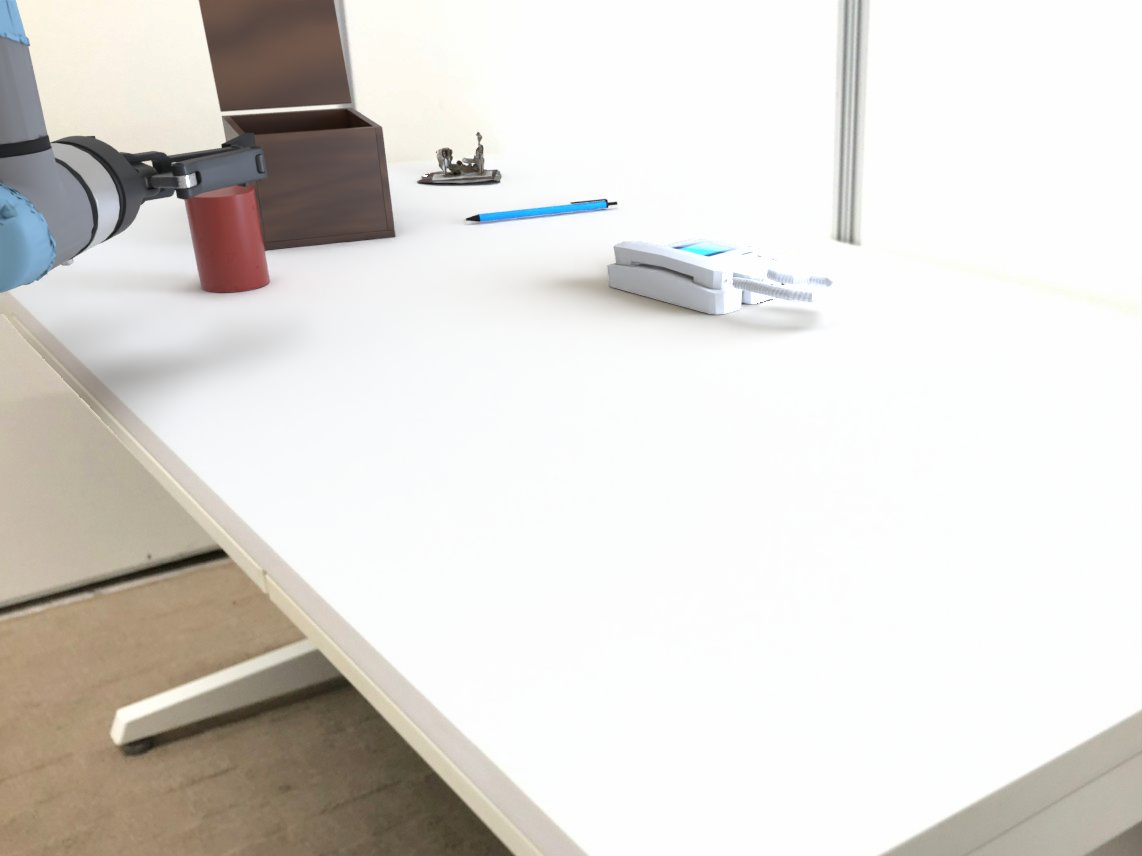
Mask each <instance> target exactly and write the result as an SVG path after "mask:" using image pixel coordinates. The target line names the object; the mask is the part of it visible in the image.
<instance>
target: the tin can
mask: <svg viewBox="0 0 1142 856" xmlns="http://www.w3.org/2000/svg"><path fill="white" fill-rule="evenodd" d="M184 205H185V206H184V207H185V211H186V216H187V222H188V227H189V232H190V237H191V243H192V246H193V247H192V249H193V252H194V257H195V264H196V267H197V273H198V279H199V285H200V288H201V289H202V290H204V291H206V292H210V293H211V292H212V293H240V292H247V291H251V290H252V291H253V290H255V289H259V288H262V287H265V286H267V285H268V284H269V283H270V282H271V281H270V280H271V279H270V274H269V268H268V267H269V266H268V261H267V255H266V250H265V249H264V243H263V237H262V231H261V225H260V219H259V213H258V207H257V201H256V195H255V189H254V187H252V186H249V187H242V186H238V185H235V186H230V187H226V188H222V189H218V190H213V191H209V192H205V193H201V194H199V195H197V196H194V197H191V198H189V199H186V200H184Z"/></svg>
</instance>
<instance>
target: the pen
mask: <svg viewBox="0 0 1142 856" xmlns="http://www.w3.org/2000/svg"><path fill="white" fill-rule="evenodd" d="M610 206H618V201H610V202H609V201H608V199H607V198H600V199H599V198H598V199H589V200H581V201H571V202H570V203H569V204H561V205H553V206H543V207H533V208H524V209H515V210H514V209H513V210H505V211H495V212H485V213H478V214H474V215H472V216H468V217H465V218H464V221H466V222H477V223H480V222H481V223H483V222H490V221H491V222H493V221H501V220H509V219H510V220H511V219H520V218H528V217H538V216H547V215H556V214H564V213H565V214H566V213H573V212H574V213H575V212H582V211H592V210H601V209H608V208H609V207H610Z"/></svg>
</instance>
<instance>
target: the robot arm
mask: <svg viewBox="0 0 1142 856" xmlns="http://www.w3.org/2000/svg"><path fill="white" fill-rule="evenodd" d="M25 31H26V30H25V28H24V24H23V21H22V18H21V14H20V10H19V6H18V3H17V0H0V294H3V293H6V292H9V291H11V290H13V289H16V288H19V287H21V286H29V285H31V284H33V283H34V282H35V281H37V282H39V281H40V280H42V278H43V277H45V276H47V275H48V273H49V272H51V271H53V270H54V269H55V268H57V267H59V266H63V267H64V266H66V267H68V266H71V265H73V263H74V259H75V258H76V257H77V256H80V255H82V254H84V253H85V252H86V251H89V250H90V249H92V248H94V247H97V246H98V245H100V244H102V243H104V242H107V241H109V240H111V239H112V238H114V237H116V236H117V235H120V234H122V233H124V231H126V230H127V229H128V228H130V226H131V225H132V224H133V222H134V221H135V220H136V218H137V216H138V213H139V211H140V209H141V207H142V205H144V204H145V203H146V202H147V201H155V200H161V199H166V198H171V197H173V196H174V194H176V199H179V200H182V201H183V200H186V199H189V198H191V197H194V196H197V195H199V194H201V193H205V192H209V191H213V190H218V189H222V188H226V187H230V186H235V185H238V186H242V187H249V182H252V181H256V180H263V179H266V178H267V173H266V167H265V161H264V155H263V149H262V147H261V146H257V145H256V142H255V137H254V133H244V134H242V135H240V136H238V137H236V138H233V139H231V140H229V141H227V142H226V141H225V142H223V143H221V144H220V146H221V147H217V148H209V149H204V150H197V151H190V152H184V153H176V154H170V155H168V154H167V153H166V152H163V151H158V150H150V151H143V152H142V151H141V152H135V153H132V152H131V153H130V152H125V151H119V150H117V149H116V148H114V147H113V146H112V145H110V144H109V143H107V142H104V141H103V140H101V139H99V138H96V135H85V136H84V135H71V136H65V137H62V138H59V139H56V140H52V141H51V140H50V136H49V133H48V129H47V125H46V121H45V117H44V116H45V115H44V111H43V108H42V102H41V98H40V93H39V88H38V84H37V79H36V73H35V70H34V66H33V61H32V56H31V51H30V47H31V43H30V38H29V37H28V36H27V35H26V32H25ZM145 162H151V165H150V164H147V163H145Z"/></svg>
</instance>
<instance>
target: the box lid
mask: <svg viewBox="0 0 1142 856" xmlns="http://www.w3.org/2000/svg"><path fill="white" fill-rule="evenodd" d="M198 5H199V8H200V9H199V10H200V16H201V20H202V25H203V31H204V35H205V41H206V45H207V50H208V55H209V60H210V65H211V70H212V74H213V76H212V77H213V81H214V87H215V90H216V91H215V92H216V96H217V100H218V106H219V111H220V113H226V112H227V113H229V112H245V111H257V110H258V111H261V110H274V109H275V110H276V109H290V108H291V109H292V108H306V107H320V106H321V107H323V106H337V105H338V106H340V105H351V104H352V103H353V101H352V97H351V91H350V85H349V80H348V73H347V67H346V62H345V55H344V50H343V44H342V39H341V33H340V27H339V21H338V17H337V16H338V15H337V11H336V6H335V0H198Z"/></svg>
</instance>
